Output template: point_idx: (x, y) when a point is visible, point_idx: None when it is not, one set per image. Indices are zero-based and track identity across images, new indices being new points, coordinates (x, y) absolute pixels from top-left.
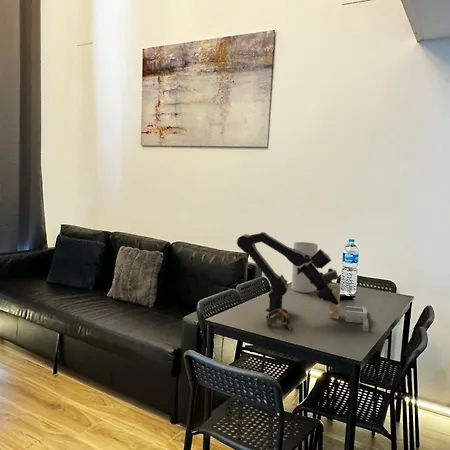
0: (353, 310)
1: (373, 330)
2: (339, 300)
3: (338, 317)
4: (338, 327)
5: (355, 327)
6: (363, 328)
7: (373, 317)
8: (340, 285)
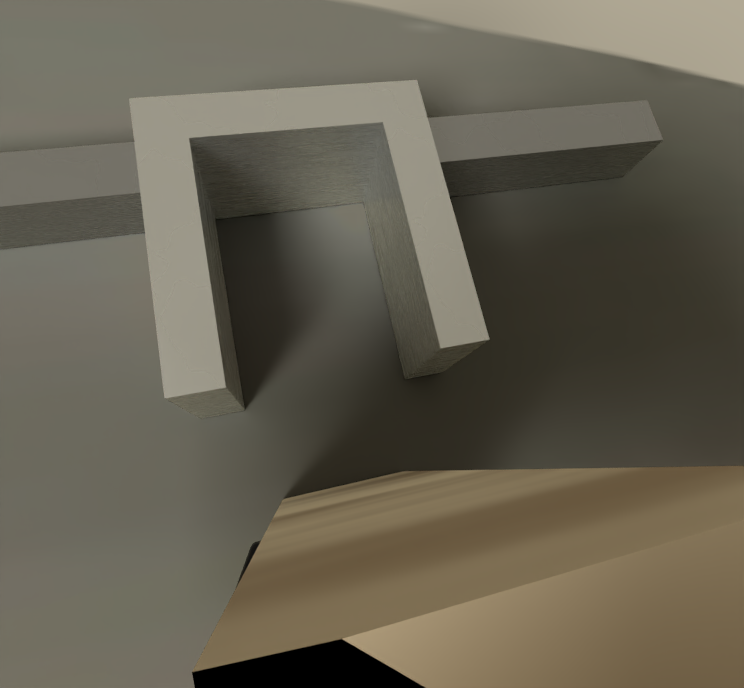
0: (215, 287)
1: (543, 104)
2: (505, 472)
3: (406, 471)
4: (680, 402)
5: (568, 251)
6: (611, 168)
7: (109, 113)
8: (387, 627)
